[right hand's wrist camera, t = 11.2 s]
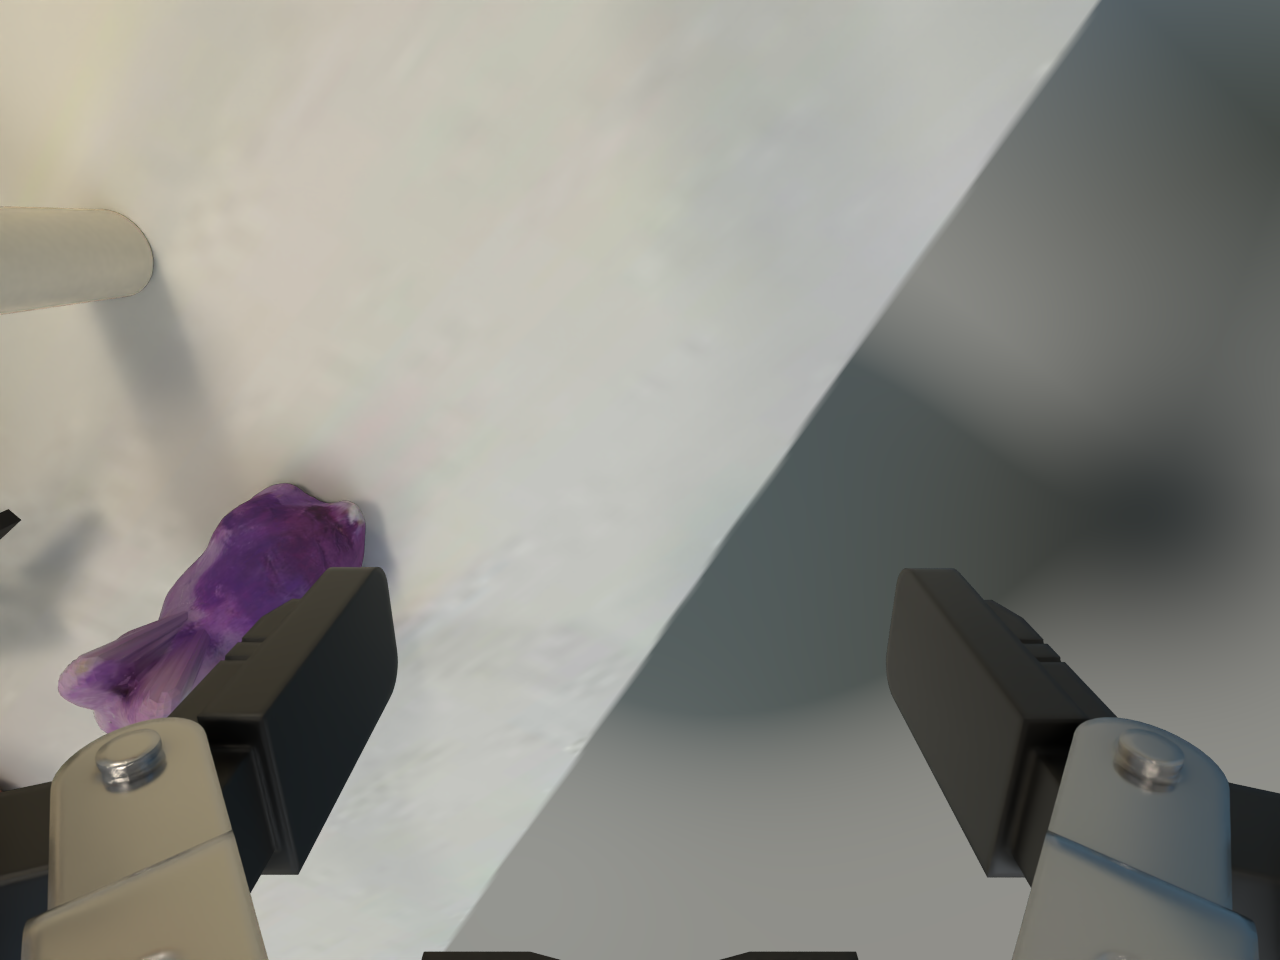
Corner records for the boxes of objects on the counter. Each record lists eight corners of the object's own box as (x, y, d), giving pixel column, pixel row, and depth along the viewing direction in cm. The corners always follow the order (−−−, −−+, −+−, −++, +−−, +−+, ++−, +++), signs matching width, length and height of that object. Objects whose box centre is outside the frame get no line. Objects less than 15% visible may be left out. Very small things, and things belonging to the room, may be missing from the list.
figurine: (221, 626, 43) (19, 819, 29) (208, 469, 40) (-28, 603, 26) (376, 643, 44) (251, 842, 30) (377, 489, 40) (235, 632, 26)
